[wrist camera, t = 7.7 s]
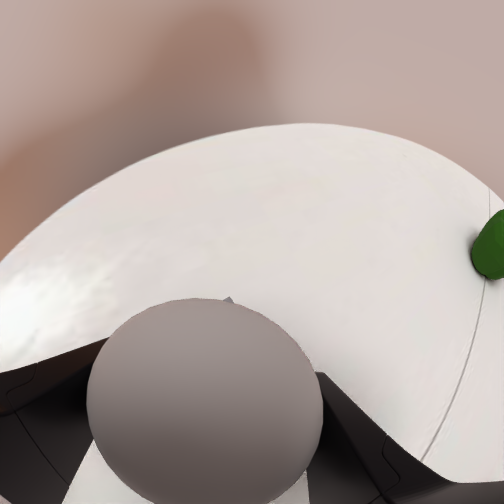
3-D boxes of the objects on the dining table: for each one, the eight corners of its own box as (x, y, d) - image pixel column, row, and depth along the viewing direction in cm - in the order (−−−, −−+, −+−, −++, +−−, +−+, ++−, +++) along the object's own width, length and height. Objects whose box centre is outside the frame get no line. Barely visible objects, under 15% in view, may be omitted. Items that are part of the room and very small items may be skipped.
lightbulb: (256, 337, 15) (303, 223, 5) (287, 435, 12) (399, 499, 3) (153, 359, 14) (29, 283, 4) (180, 459, 11) (90, 554, 1)
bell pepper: (494, 250, 29) (534, 215, 20) (498, 296, 25) (546, 263, 16) (462, 227, 30) (502, 184, 21) (464, 274, 26) (515, 232, 17)
